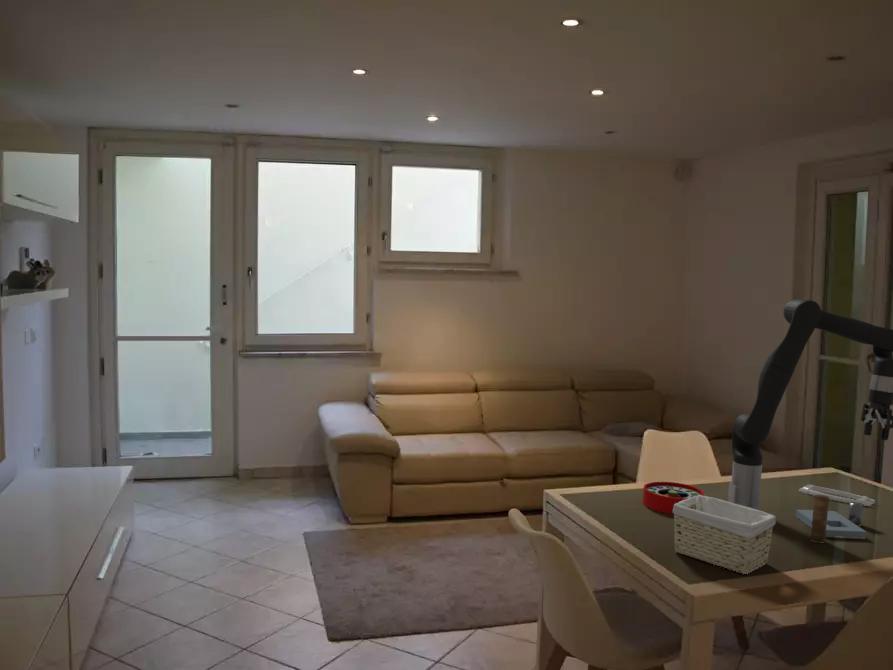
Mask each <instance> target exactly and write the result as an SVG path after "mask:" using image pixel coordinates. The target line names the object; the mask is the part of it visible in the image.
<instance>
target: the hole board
mask: <svg viewBox="0 0 893 670" xmlns="http://www.w3.org/2000/svg"><path fill="white" fill-rule="evenodd" d="M795 518H796V519H798V518H799V519H800V520H799V519H798V520H799V521H801V522H802V523H803V522H804V523H803V524H805V525H806V524H807V525H808V526H807V525H806V526H807V527H809V526H810V527H811V528H812V518H813V509H796V510H795ZM810 527H809V528H810ZM811 528H810V529H811ZM826 536H843V537H866V538H867V531H866V530H864V529H863V528H861V526H859V527H858V526H857V525H855V524H854V523H852V522H851V521H849V520H848V518H846V517H844V516H843V515H842V514H840V513H838V512H837V511H836V510H828V515H827V526H826Z"/></svg>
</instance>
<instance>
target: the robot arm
mask: <svg viewBox="0 0 893 670" xmlns="http://www.w3.org/2000/svg"><path fill="white" fill-rule="evenodd" d="M783 317H784V319H785V320H786V322H787V323H789V324H790V325H789V326H788V330H786V331H787V332H786V334H785V336H784V337H783V339H782V340H781V342H780V343H779V344H778V345H777V346H775V348H774V349H773V350H772V351H771V353H770V354H769V356H768V357H767V358H766V360H765V363H764V364H763V367H762V369H761V370H760V371H761V372H760V374H759V377H758V384H757V392H756V393H757V395H756V399H755V403H754V405H753V408H752V410H751V411H750V414H749V413H743V414H740V415H739V416H738V417H736V419H735V420H734V422H733V425H732V438H731V452H732V456H733V458H732V468H731V470H732V472H731V481H729V483H728V494H727V502H731V503H734V504H738V505H742V506H745V507H749V508H753V509H756V510H760V496H761V495H760V494H761V484H762V473H763V472H762V471H763V454H762V452H761V449H760V445H761V444H763V443H764V442H765V441H766V439H767V438H768V435H770V430H771V428H772V424H773V422H774V418H775V414H776V412H777V409H778V407H779V406H780V404H781V401H782V399H783V396H784V394H785V392H786V389H787V388H788V385H789V383H790V381H791V380H792V377H793V375H794V372H795V370H796V368H797V366H798V362H799V361H800V358H801V357H802V354H803V351H804V349H805V347H806V345H807V343H808V341H809V339H810V337H812V335H813V333H814V331H815V329H817V330H818V329H819V330H821V331H825V332H828V333H831V334H832V335H836V336H839V337H841V338H845V339H847V340H850V341H854V342H857V343H860V344H862V345H863V344H864V345H870V346H871V345H872V354H873V355H872V356H873V361H874V363H873V370H872V375H871V379H870V385H869V389H868V390H869V391H868V398H867V401H868V403H864V404H863V406H862V411H861V416H860V420H861V422H863V423H864V427H863V428H864V429H863V435H864V436H872V432H873V431H872V430H873V424H874V422H875V421H877V420H878V422H879V423H880V426H881V431H880V436H879V438H880V440H882V441H888V439H889V435H890V430H891V429H893V409H891V406H893V329H891V328H886V327H883V326H880V325H876V324H875V325H874V324H872V323H869V322H867V321H863V320H860V319H857V318H853V317H849V316H844V315H841V314H835V313H831V312H829V311H825V310H822V308H821V306H820V305H819V303H817V302H816V301H814V300H811V299H804V298H796V299H793V300H790V301H788V302H787V303H786V304H785V306H784V308H783ZM869 403H870V404H869Z"/></svg>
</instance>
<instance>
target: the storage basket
mask: <svg viewBox="0 0 893 670" xmlns="http://www.w3.org/2000/svg"><path fill="white" fill-rule="evenodd" d="M691 507H693V509H691ZM673 514H674V515H673ZM673 514H672V515H673V523H674V525H673V526H674V536H673V539H674V541H673V542H674V550H675V552H676V553H678V554H681V555H683V554H684V556H687V557H690V558H694V559H695V560H698V559H699V560H698V561H702V562H706V563H708V564H711V565H712V564H713V566H715V565H717V566H721V567H724V568H723V569H725V568H727V569H726V570H729V571H732V570H733V571H732V572H734V571H736V572H735V573H738V572H739V573H738V574H740V573H742V574H741V575H744V574H747V575H749V574H750V572H751V573H753V572H754V570H755V571H757V570H758V569H760V568H761V567H763V565H764V566H765V565H766V564H767V563H768V560H769V551H770V549H771V543H772V536H773V528H774V526H775V525H776V523H777V521H776V516H775V515H773V514H770V513H768V512H766V511H762V510H760V509H759V510H756V509H753V508H749V507H745V506H742V505H738V504H734V503H731V502H728V500H723V499H719V498H716V497H711V496H707V495H704V496H702V495H698V496H694V497H691V498H688V499H685V500H682V501H680V502H678V503H676V504H674V507H673ZM717 566H716V567H717ZM721 567H720V568H721ZM759 567H760V568H759ZM756 569H757V570H756ZM752 571H753V572H752ZM748 573H749V574H748Z"/></svg>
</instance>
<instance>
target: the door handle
mask: <svg viewBox="0 0 893 670" xmlns="http://www.w3.org/2000/svg"><path fill="white" fill-rule="evenodd" d="M797 492H799V493H802V494H804V493H805V494H804V495H810V496H813V497H814V496H815V495H824V496H827V497H829V501H832V500H833V502H837V501H838V503H842V502H843V503H842V504H847V503H849V504H850V502H858V503H862V504H863V505H864V506H863V507H865V506H869V507H871V506H872V505H874V504H875V503H876V500H875V499H872V498H869V497H868V496H865V495H858V494H855V493H851V492H847V491H843V490H839V489H832V488H829V487H823V486H818V485H815V484H807V485H806V484H805V485H804V486H803V487H800V488H799V489H798V491H797ZM838 495H839V496H838ZM842 496H843V497H842ZM846 497H847V498H846ZM851 498H852V499H851ZM854 499H856V500H854ZM849 504H848V505H849Z"/></svg>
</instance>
